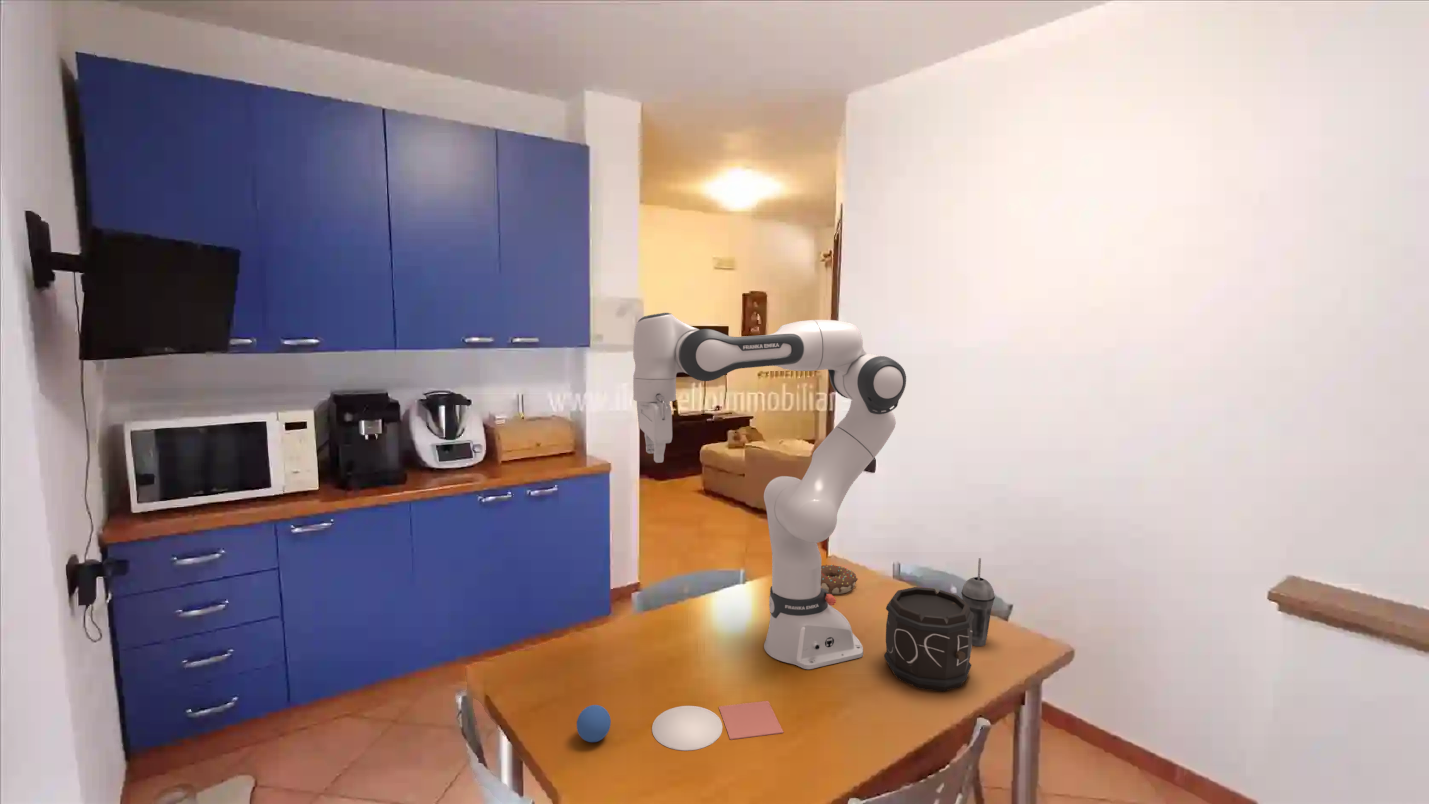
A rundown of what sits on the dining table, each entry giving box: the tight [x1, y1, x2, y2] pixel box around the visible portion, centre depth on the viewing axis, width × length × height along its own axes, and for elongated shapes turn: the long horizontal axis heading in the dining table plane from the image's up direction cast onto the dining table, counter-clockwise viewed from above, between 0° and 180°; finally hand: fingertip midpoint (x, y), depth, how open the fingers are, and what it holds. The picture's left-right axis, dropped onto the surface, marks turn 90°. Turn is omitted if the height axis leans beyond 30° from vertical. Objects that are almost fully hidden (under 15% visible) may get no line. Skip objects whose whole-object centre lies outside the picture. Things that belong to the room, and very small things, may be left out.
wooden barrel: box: [883, 586, 974, 692], centre depth 137 cm, size 18×18×16 cm
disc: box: [651, 705, 723, 752], centre depth 118 cm, size 13×13×1 cm
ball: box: [576, 704, 612, 743], centre depth 115 cm, size 6×6×6 cm
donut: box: [821, 564, 859, 595], centre depth 183 cm, size 14×14×5 cm
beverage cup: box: [961, 557, 996, 647], centre depth 150 cm, size 7×7×20 cm
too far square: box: [718, 700, 784, 741], centre depth 121 cm, size 10×10×1 cm
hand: (654, 457), depth 134 cm, fingers open, 8 cm apart
